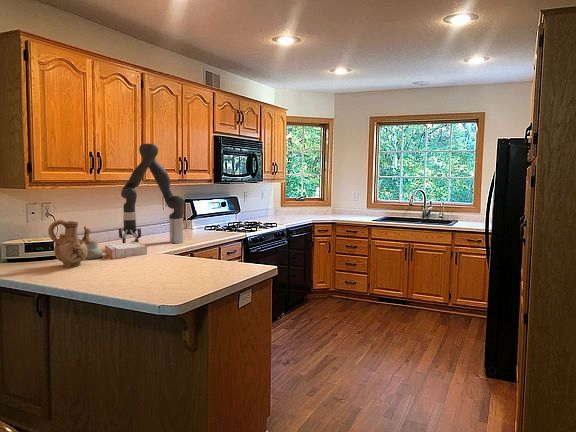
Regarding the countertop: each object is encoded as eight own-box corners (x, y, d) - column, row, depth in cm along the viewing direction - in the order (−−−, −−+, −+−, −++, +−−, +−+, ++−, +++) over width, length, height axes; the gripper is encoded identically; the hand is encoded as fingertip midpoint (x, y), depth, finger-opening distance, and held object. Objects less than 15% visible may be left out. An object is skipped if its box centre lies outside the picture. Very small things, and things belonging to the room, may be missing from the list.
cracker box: (139, 250, 295) (104, 254, 282) (139, 241, 294) (104, 244, 281) (147, 256, 284) (111, 259, 271) (147, 246, 283) (111, 249, 270)
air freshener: (80, 259, 270) (79, 242, 269) (86, 256, 278) (86, 240, 277) (98, 259, 270) (98, 242, 269) (104, 257, 278) (104, 240, 277)
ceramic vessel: (80, 269, 242) (78, 221, 240) (43, 269, 243) (41, 220, 241) (95, 262, 261) (94, 217, 258) (61, 262, 261) (59, 217, 259)
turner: (132, 245, 315) (132, 239, 315) (141, 245, 315) (141, 240, 315) (119, 251, 293) (119, 245, 293) (129, 251, 293) (129, 245, 293)
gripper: (142, 218, 305) (143, 243, 306) (120, 218, 305) (121, 243, 307) (138, 219, 297) (139, 245, 299) (116, 219, 298) (117, 245, 300)
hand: (130, 244), depth 303 cm, fingers open, 7 cm apart
